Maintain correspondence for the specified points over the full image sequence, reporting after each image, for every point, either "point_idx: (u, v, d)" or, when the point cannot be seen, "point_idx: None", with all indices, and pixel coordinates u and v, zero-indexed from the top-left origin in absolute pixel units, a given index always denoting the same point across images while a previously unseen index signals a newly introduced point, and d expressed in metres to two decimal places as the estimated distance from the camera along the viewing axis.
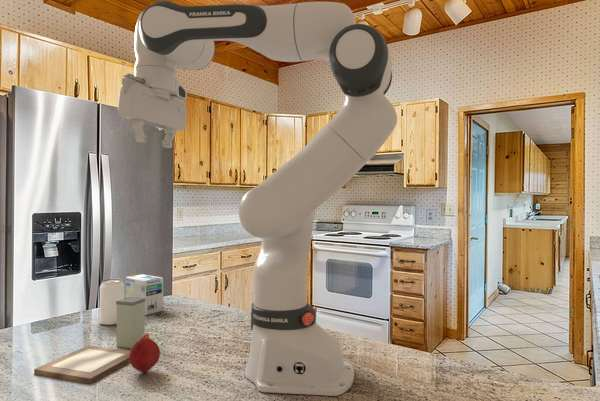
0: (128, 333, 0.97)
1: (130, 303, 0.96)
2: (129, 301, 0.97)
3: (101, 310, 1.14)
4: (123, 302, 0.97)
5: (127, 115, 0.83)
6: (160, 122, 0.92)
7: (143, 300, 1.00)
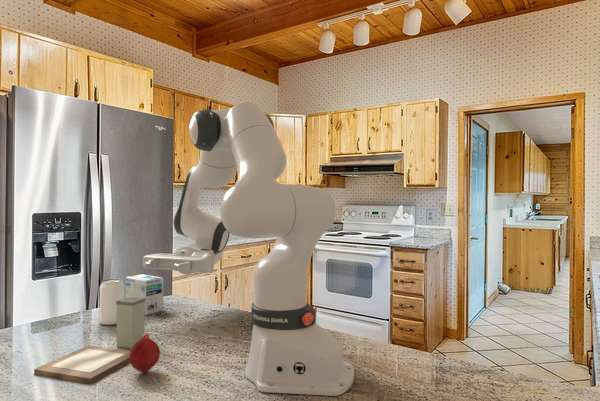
0: (128, 333, 0.97)
1: (130, 303, 0.96)
2: (129, 301, 0.97)
3: (101, 310, 1.14)
4: (123, 302, 0.97)
5: (143, 260, 1.18)
6: (171, 257, 1.16)
7: (143, 300, 1.00)
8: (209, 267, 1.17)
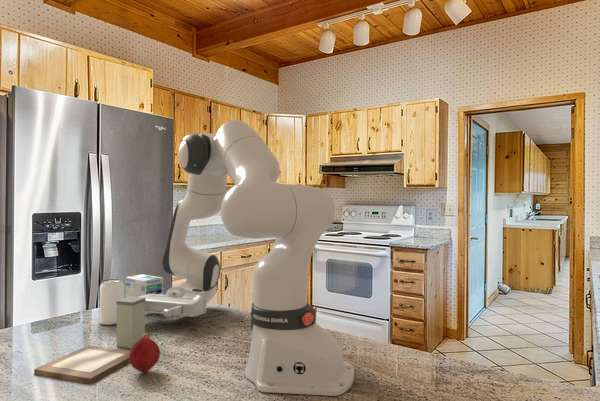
0: (128, 333, 0.97)
1: (130, 303, 0.96)
2: (129, 301, 0.97)
3: (101, 310, 1.14)
4: (123, 302, 0.97)
5: None
6: (161, 301, 1.11)
7: (143, 300, 1.00)
8: (201, 310, 1.12)
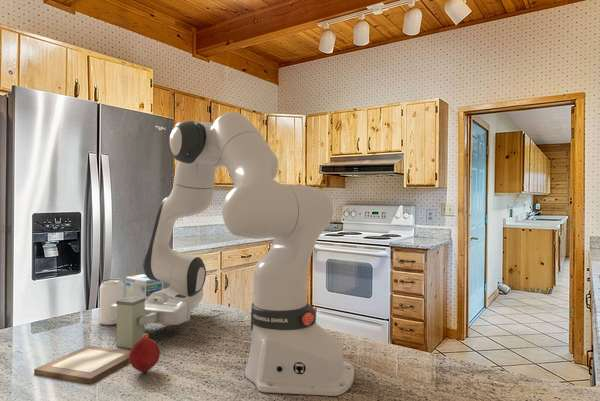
0: (128, 333, 0.97)
1: (130, 303, 0.96)
2: (129, 301, 0.97)
3: (101, 310, 1.14)
4: (123, 302, 0.97)
5: (110, 310, 1.06)
6: None
7: (143, 300, 1.00)
8: (184, 318, 1.04)
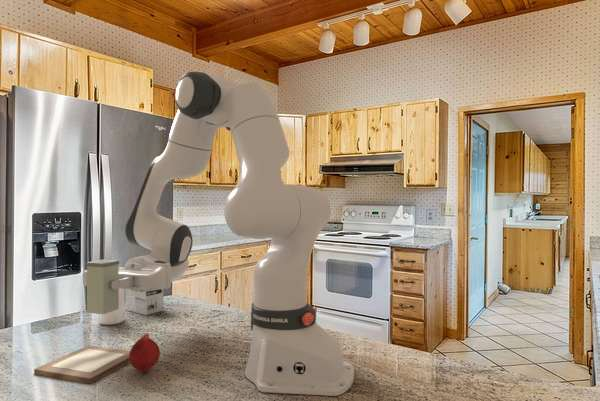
0: (99, 298, 0.88)
1: (101, 264, 0.87)
2: (100, 262, 0.88)
3: None
4: (93, 263, 0.88)
5: (83, 276, 0.97)
6: None
7: (116, 263, 0.91)
8: (162, 284, 0.95)
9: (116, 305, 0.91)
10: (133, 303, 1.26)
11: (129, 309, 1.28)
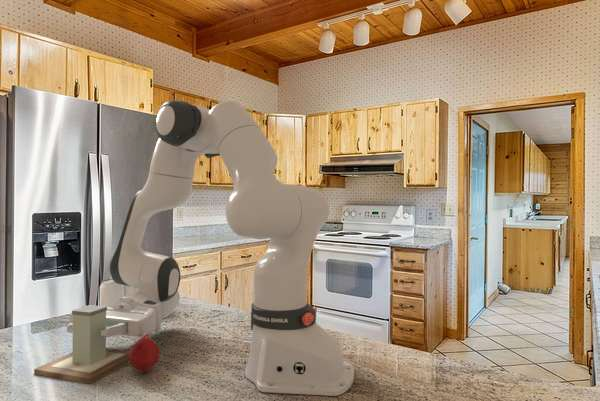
0: (85, 348, 0.84)
1: (87, 313, 0.84)
2: (87, 311, 0.85)
3: None
4: (80, 312, 0.84)
5: (69, 318, 0.93)
6: None
7: (104, 309, 0.87)
8: (152, 327, 0.92)
9: (103, 353, 0.88)
10: None
11: None
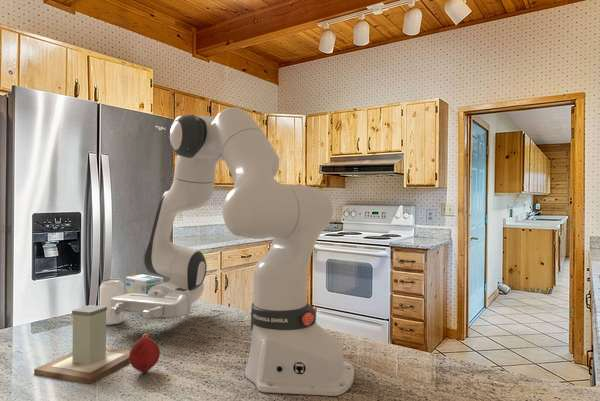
0: (85, 348, 0.84)
1: (87, 313, 0.84)
2: (87, 311, 0.85)
3: None
4: (80, 312, 0.84)
5: None
6: (141, 301, 1.03)
7: (104, 309, 0.87)
8: (184, 311, 1.04)
9: (103, 353, 0.88)
10: None
11: None
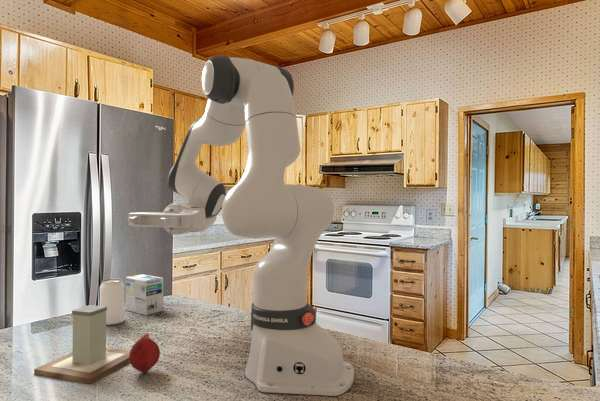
0: (85, 348, 0.84)
1: (87, 313, 0.84)
2: (87, 311, 0.85)
3: None
4: (80, 312, 0.84)
5: (128, 218, 1.09)
6: (158, 213, 1.06)
7: (104, 309, 0.87)
8: (200, 224, 1.07)
9: (103, 353, 0.88)
10: (133, 303, 1.26)
11: (129, 309, 1.28)
